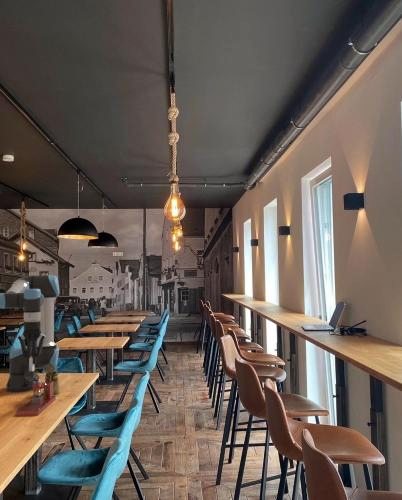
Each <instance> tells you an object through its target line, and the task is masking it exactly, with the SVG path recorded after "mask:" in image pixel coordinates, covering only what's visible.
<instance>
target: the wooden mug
mask: <svg viewBox="0 0 402 500" xmlns="http://www.w3.org/2000/svg"><path fill="white" fill-rule="evenodd" d="M43 371H44V372H45V378H44V379H45V380H44V383H45V384H46V383H47V382H49V381H53V396H57V395H59V394H60V393H61V390H60V384H59V383H60V381H59V373H58V371H56V367H55V366H54V365H52V364H49V363H48V364H46V365H45V366H44V368H43ZM42 395H43V396H46V389H43V392H42Z"/></svg>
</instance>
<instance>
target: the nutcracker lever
mask: <svg viewBox="0 0 402 500" xmlns="http://www.w3.org/2000/svg"><path fill="white" fill-rule="evenodd" d="M24 377H25V378H26V379H27V380H29V381H33V382H34V383H36V384H37V385H38V386H39V387H40V389H41V390H42V389H43V390H44V389H46V384H45V381H43V380H42V379H40V375H39V374H38V373H37V372H35V370H34V371H27V372H25V373H24Z"/></svg>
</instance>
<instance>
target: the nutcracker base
mask: <svg viewBox="0 0 402 500" xmlns="http://www.w3.org/2000/svg"><path fill="white" fill-rule="evenodd" d="M32 389H33V391H32V392H33V394H32V395H33V396H32V397H31V399H30V400H29V401H28V402H26V404H24V405H23V406H21V407H20V408H19V409H18V410H16V415H15V416H16V417H17V416H18V417H21V416H22V417H24V416H25V417H27V416H31V417H33V416H34V417H35V416H39V415H40V414H41V413H43V412H44V411H45V410H46V409H47V408H48V407H49V406H50V405H51V404H53V403H54V402H55V401H56V399H57V395H53V381H49V382H47V383H46V395H43V394H42V389H40V387H39V386H38V385H37V384H36V383H34V384H33V388H32Z"/></svg>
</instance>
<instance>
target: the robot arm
mask: <svg viewBox="0 0 402 500" xmlns="http://www.w3.org/2000/svg"><path fill="white" fill-rule="evenodd" d="M59 284H60V283H59V280H58V276H56V275H55V274H54V275H53V274H52V275H51V274H46V275H45V274H44V275H26V276H23V277H20V278H18V279H16V280H15V281H14V282H12V284H11V286H10V288H9V289H8V290H7V291H5V292H2V293H1V292H0V309H3V310H4V309H23V321H24V322H23V332H22V334H21V335H18V336H17V339H18V340H19V341H18V342H19V344H20V347H16V348H13V349H11V350H10V353H9V358H8V359H9V377H8V380H7V382H6V386H5V391H7V392H9V393H10V392H13V393H14V392H15V393H16V392H17V393H18V392H23V391H29V390H32V389H33V384H34V382H33V381H29V380H27V379H26V378H25V377H24V373H25V372H27V371H34V372H35V370H38V369H39V370H40V369H44V366H45V365H46V364H48V363H49V364H52V365H54V366H55V368H56V367H57V364H58V361H59V354H60V347H58V346H57V343H56V342H55V341H54V340H55V335H54V334H55V301H56V299H57V297H58V295H60V285H59ZM25 340H26V341H25Z"/></svg>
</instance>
